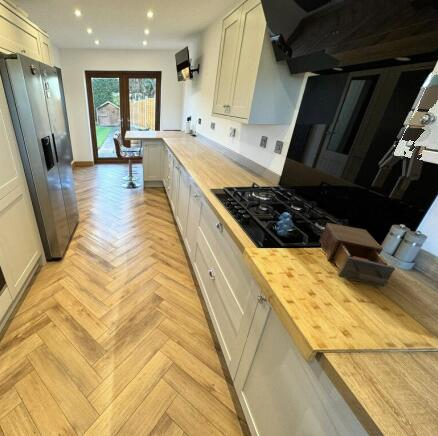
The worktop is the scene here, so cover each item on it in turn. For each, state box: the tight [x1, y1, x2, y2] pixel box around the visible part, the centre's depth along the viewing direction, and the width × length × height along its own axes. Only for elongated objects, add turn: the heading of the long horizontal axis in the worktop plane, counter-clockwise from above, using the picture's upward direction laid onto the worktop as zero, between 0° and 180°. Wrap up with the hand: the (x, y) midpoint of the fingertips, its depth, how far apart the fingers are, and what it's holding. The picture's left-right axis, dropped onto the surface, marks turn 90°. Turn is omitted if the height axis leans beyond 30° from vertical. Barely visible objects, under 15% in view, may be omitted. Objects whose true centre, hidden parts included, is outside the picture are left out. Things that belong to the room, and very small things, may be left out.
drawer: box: [332, 242, 396, 288], centre depth 83 cm, size 20×13×8 cm, turn 158°
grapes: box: [275, 211, 295, 237], centre depth 107 cm, size 12×7×12 cm, turn 165°
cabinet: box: [318, 222, 384, 263], centre depth 95 cm, size 16×14×10 cm
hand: (384, 192), depth 82 cm, fingers open, 13 cm apart
